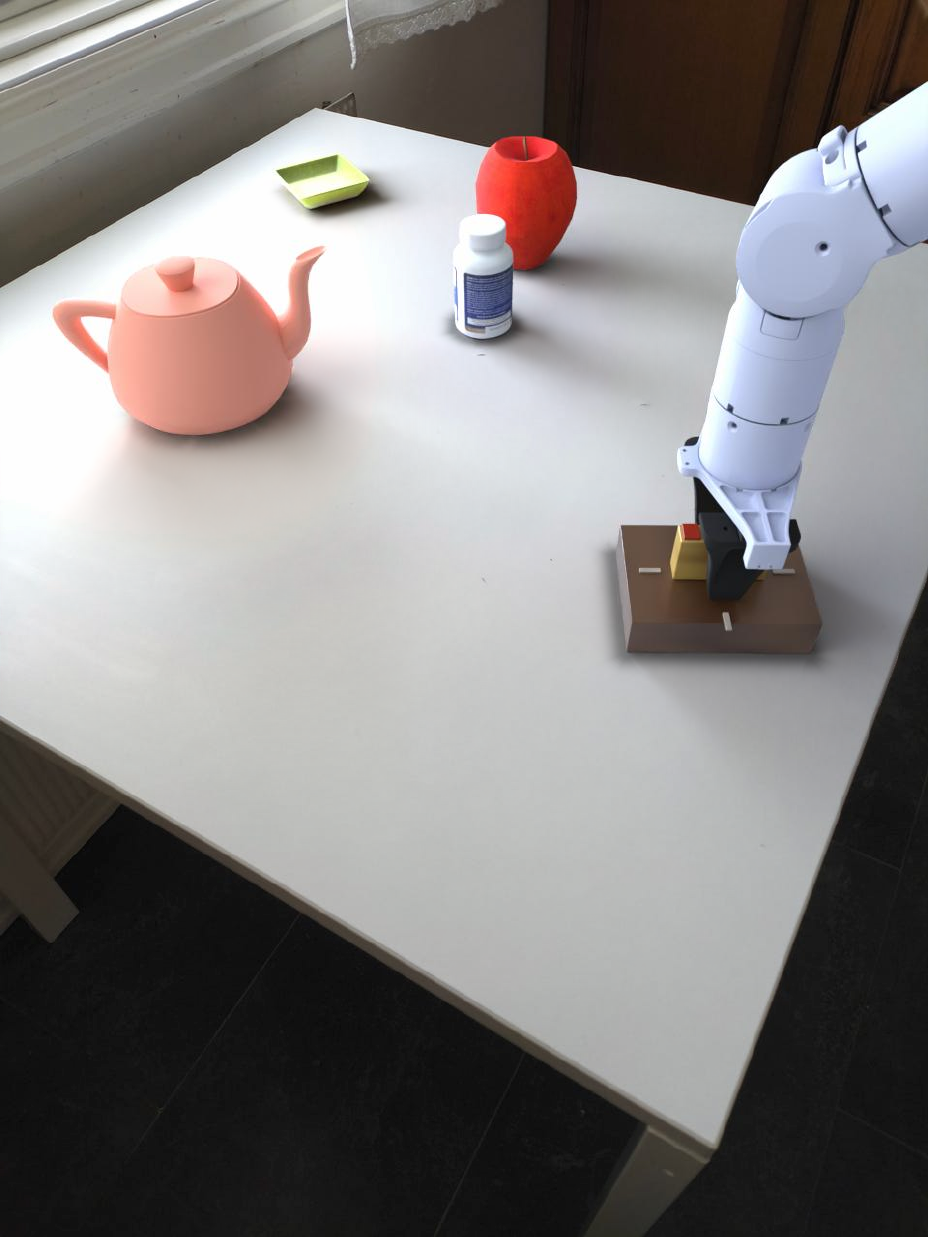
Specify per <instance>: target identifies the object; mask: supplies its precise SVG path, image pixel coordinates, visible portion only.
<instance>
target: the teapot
mask: <svg viewBox="0 0 928 1237" xmlns="http://www.w3.org/2000/svg"><path fill="white" fill-rule="evenodd" d="M326 250H327V246H325V245H320V246H316V247H313V248H311V249H308V250H306V251H304V252H303V253H301V254H299V255H298V256H296V257H295V258H294V260H293V261H292V262H291V264H290V266H289V268H288V272H287V279H286V280H287V281H286V282H287V295H288V296H287V303H286V306H285V307H284V309H283V310H282V311H281V312H280V313H279V314H278V315H277V314H276V312H275V311H274V310H273V308H272V307H271V305H270V304H269V302H267V300H266V299H265V298H264V296H263V294H261V293H260V292H259V291H258V289H256V287H255V286H254V285H253V284H252V283H251V282H250V280H248V278H246V277H245V276H244V275H243V274H242V273H241V272H240V271H239V270H238V269H236V268H235V267H234V266H232V265H231V264H229V263H227V262H225V261H223V260H219V259H216V258H211V257H195V256H194V257H192V256H190V255H187V254H172V255H167V256H164V257H162V258H159V260H157V261H156V262H155V263H152V264H150V265H147V266H145V267H143V268H141V269H139V270H138V271H136V272H134V273H133V274H132V275H130V277H129V278H128V279H127V280H126V281H125V282H124V283H123V285H122V287H121V290H120V292H119V295H118V296H117V300H116V301H110V300H105V299H98V298H97V299H96V298H87V297H70V298H64V299H61V300H59V301H57V302H56V303H55V304H54V305H53V307H52V318H53V321H54V323H55V324H56V327H57V328H58V329H59V331H60V332H61V334H62V335H63V336H64V338H66V339H67V341H68V342H70V344H72V345H73V346H74V347H75V348H76V349H77V350H78V351H80V352H81V353H82V354H83V355H84V356H85V357H86V358H88V359H89V360H90V361H91V362H93V363H94V365H96V366H98V367H99V368H100V369H101V370H103V371H104V372H105V373H106V374H108V376H109V381H110V385H111V388H112V392H113V395H114V397H115V398H116V402H117V403H118V404H119V406H120V407H121V408H122V409H123V410H124V411H125V412H126V413H127V414H128V415H130V416H131V417H132V418H134V419H135V420H137V421H139V422H141V423H143V424H144V425H147V426H149V427H151V428H153V429H156V430H158V431H161V432H165V433H168V434H175V435H182V436H183V435H184V436H200V435H201V436H202V435H210V434H211V435H212V434H216V433H217V434H219V433H222V432H226V431H230V430H233V429H237V428H240V427H242V426H245V425H248V424H250V423H251V422H253V421H256V420H257V419H259V418H260V417H262V416H263V415H265V414H267V413H268V411H269V410H271V408H273V407H274V405H275V404H276V402H277V401H279V399H280V398H281V396H282V395H283V393H284V392H285V390H286V388H287V387H288V385H289V384H290V383H289V382H290V380H291V376H292V371H293V365H294V362H293V360H294V359H295V358H296V357H297V356H298V355H299V354H300V353H301V352H302V351H303V349H304V348H305V346H306V344H307V342H308V341H309V337H310V333H311V328H312V313H311V306H310V305H311V304H310V296H309V281H310V273H311V272H312V269H313V267H314V265H315V264H316V263H317V261H318V260H319V259H320V257H321V256H323V254H324V253H325V251H326ZM84 317H85V318H87V317H92V318H101V319H102V318H103V319H109V320H111V322H110V325H109V332H108V336H107V348H106V350H107V351H106V350H105V349H104V348H103V346H101V344H99V343H98V342H97V341H96V340H95V338H94V337H93V336H92V335H91V333H90V332H89V330H87V328H86V326H85V325H84V323H83V321H82V318H84Z"/></svg>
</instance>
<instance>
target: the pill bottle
mask: <svg viewBox="0 0 928 1237" xmlns="http://www.w3.org/2000/svg"><path fill="white" fill-rule="evenodd" d="M459 239H460V243H459V244H458V245H457V246H456V248H455V249H454V251H453V256H452V265H453V297H454V298H453V299H454V317H455V325H456V326H455V327H456V328H457V329H458V330H459V332H460V333H462V334H463V335H465V336H467V337H470V338H473V339H478V340H479V339H482V340H483V339H485V340H486V339H492V338H496V337H499V336H501V335H503V334H505V333H506V332H507V331H508V330H510V328H511V326H512V322H513V300H514V299H513V298H514V297H513V296H514V294H513V293H514V292H513V291H514V268H513V252H512V249H511V247H510V246H509V245H508V244H507V243H506V242H505V240H506V223H505V221H504V220H503V219H502V218H500V217H498V216H494V215H489V214H478V215H477V214H472V215H470V216H467V217H465V218H463V219H462V220H461V222H460V226H459Z"/></svg>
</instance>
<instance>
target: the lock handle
mask: <svg viewBox="0 0 928 1237" xmlns="http://www.w3.org/2000/svg"><path fill="white" fill-rule="evenodd" d="M677 525H678V528H677V533H676V537H675V542H674V547H673V551H672V556H671V560H670V566H671V572H672V578H673V579H694V580H706V577H707V564H708V551H707V549H706V546H705V543H704V540H703V537H702V533H701V528H700V525H698V524H695V523H681V524H677ZM767 570H768V569H765V570H764V571H763V573H762V574H761V575H760V576H759V577H758V578H757V579H756V580H764V579H765V576H766V573H767Z"/></svg>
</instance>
